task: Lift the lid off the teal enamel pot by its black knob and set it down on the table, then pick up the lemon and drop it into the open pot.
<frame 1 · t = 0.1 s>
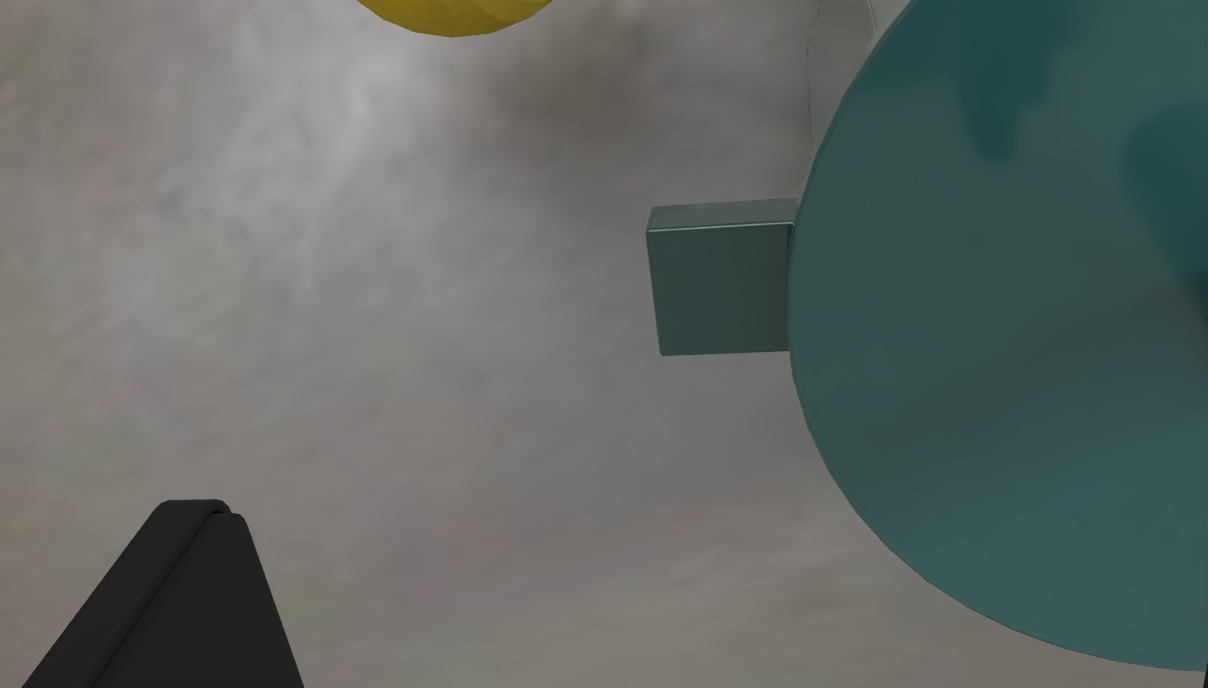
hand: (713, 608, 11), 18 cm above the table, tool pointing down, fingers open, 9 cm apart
pot: (1113, 70, 26), on the table
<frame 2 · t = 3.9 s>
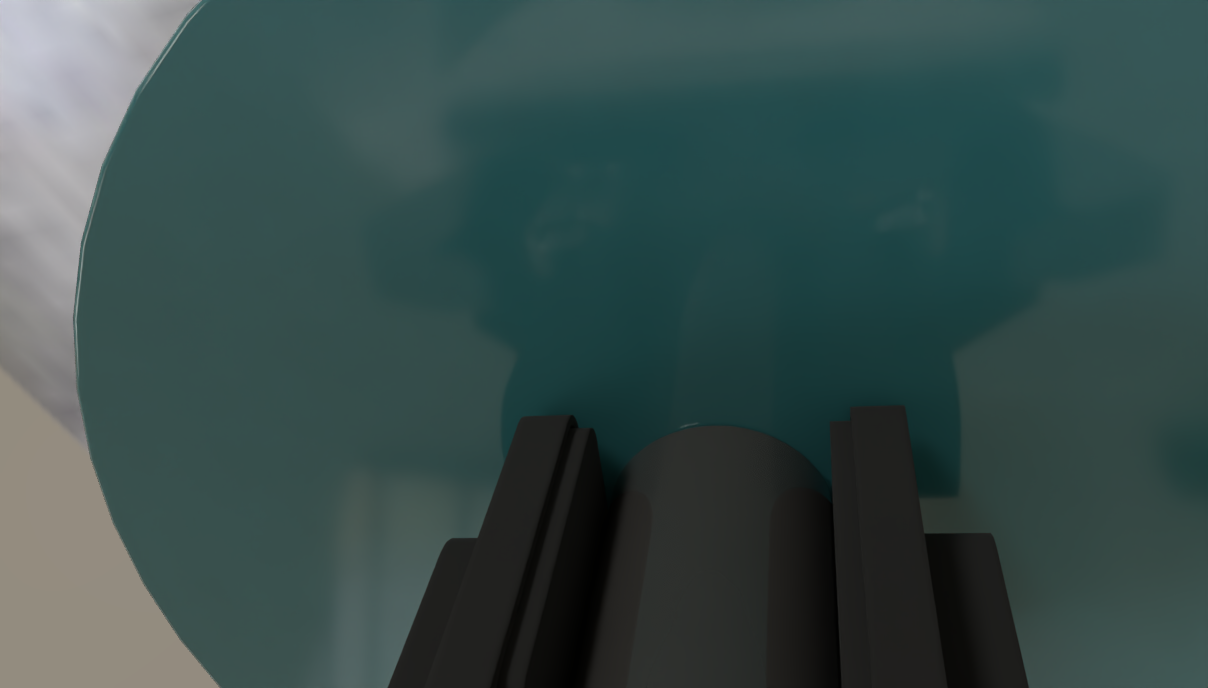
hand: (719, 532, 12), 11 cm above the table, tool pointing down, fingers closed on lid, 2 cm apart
lid: (724, 482, 13), point 11 cm above the table, touching gripper, pot
when the fingers open (3 cm above the table, at t = 11.8 s): lid drops 2 cm, point 1 cm above the table.
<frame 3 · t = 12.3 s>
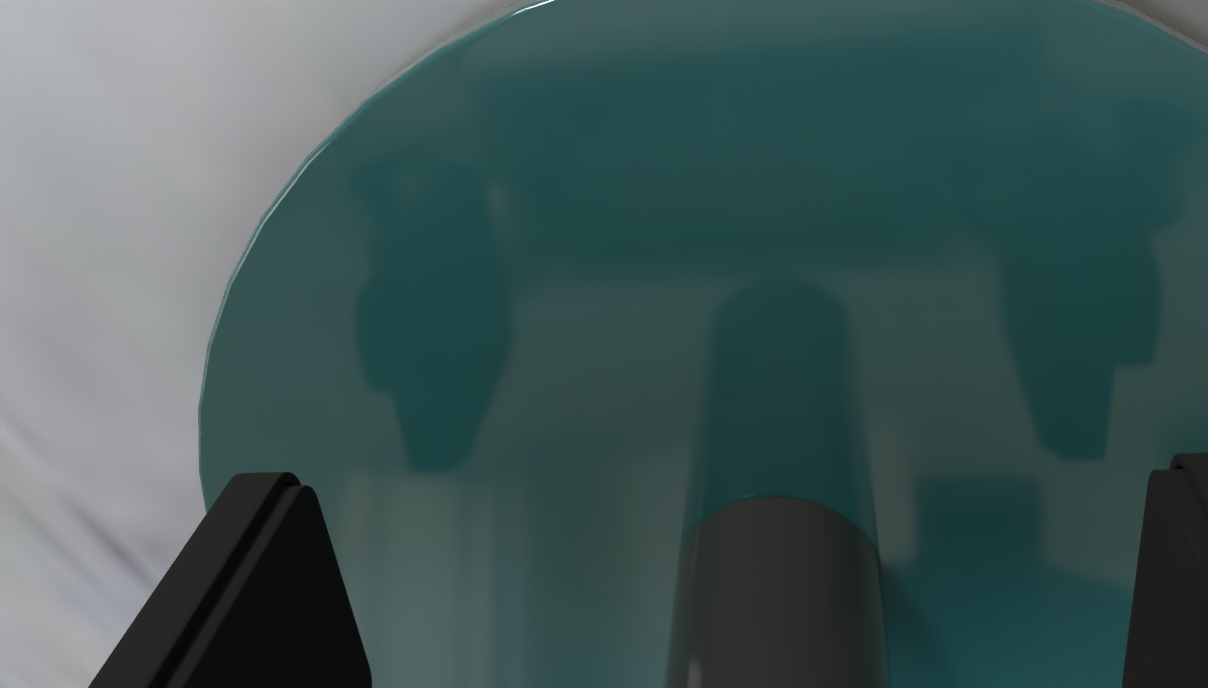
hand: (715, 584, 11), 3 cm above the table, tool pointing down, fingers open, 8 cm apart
lid: (778, 542, 14), point 1 cm above the table
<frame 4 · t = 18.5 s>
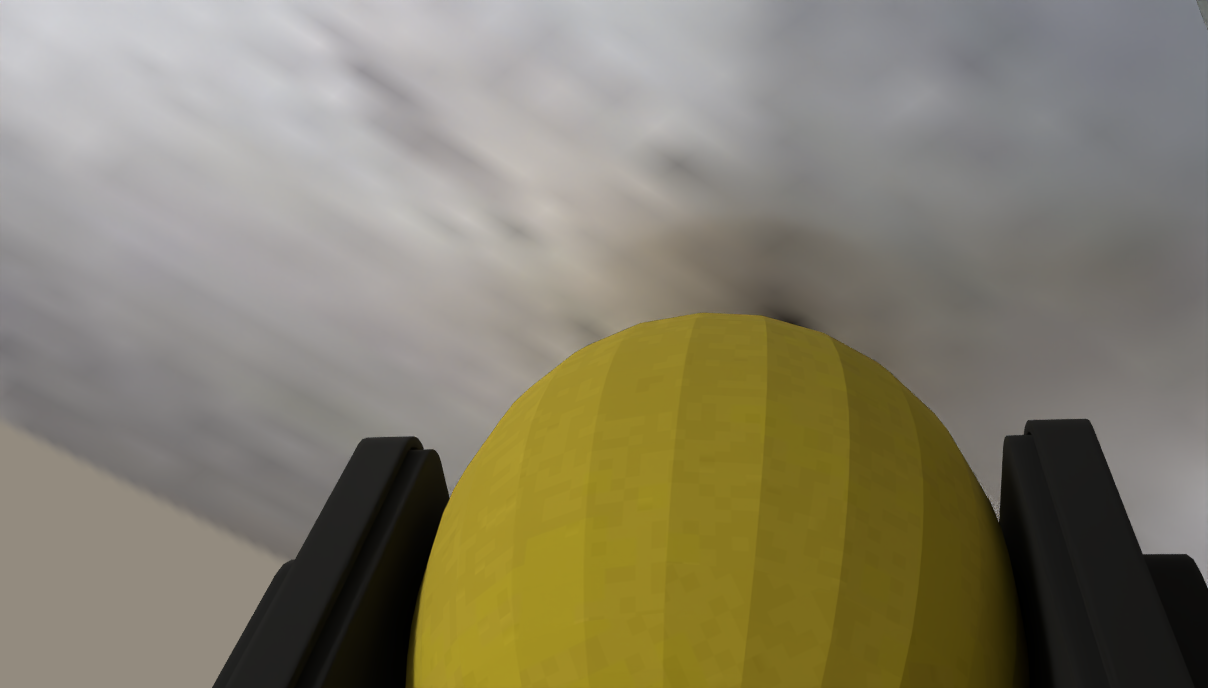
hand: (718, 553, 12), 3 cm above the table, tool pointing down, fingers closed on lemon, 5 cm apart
lemon: (732, 389, 14), on the table, touching gripper
when the fingers open (11 cm above the table, at t = 25.7 s): lemon drops 7 cm, resting on pot.
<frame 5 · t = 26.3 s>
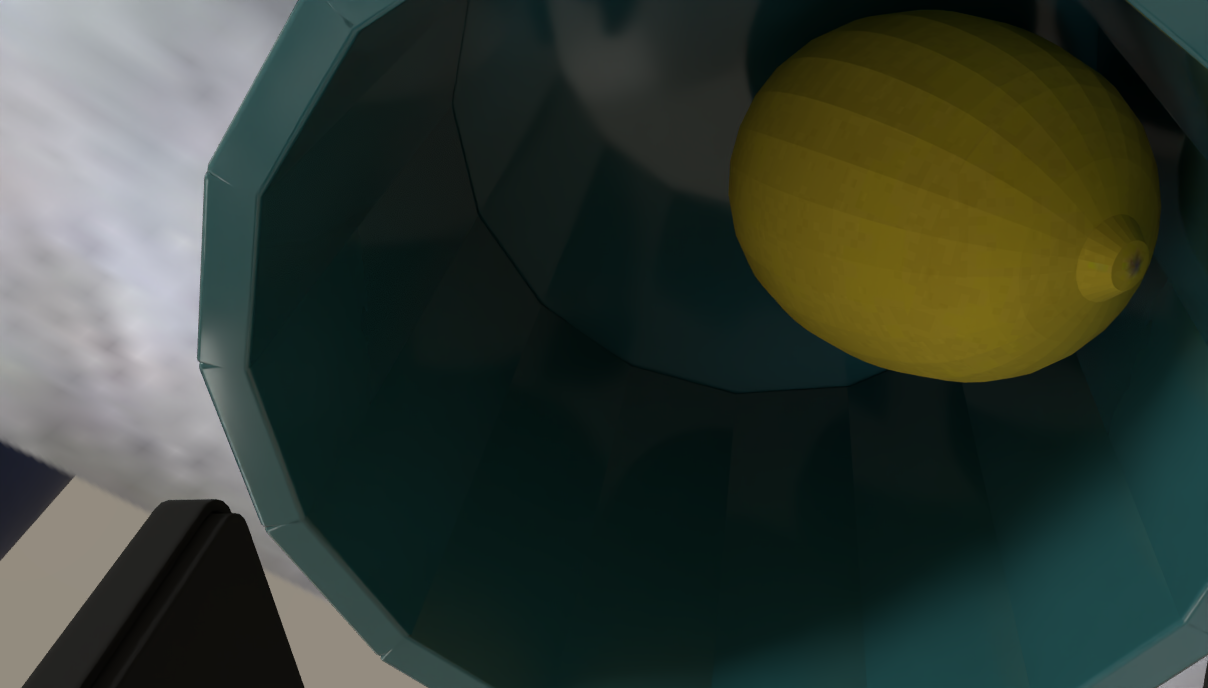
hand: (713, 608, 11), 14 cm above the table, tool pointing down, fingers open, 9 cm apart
pot: (763, 118, 23), on the table
lemon: (770, 141, 22), point 1 cm above the table, touching pot
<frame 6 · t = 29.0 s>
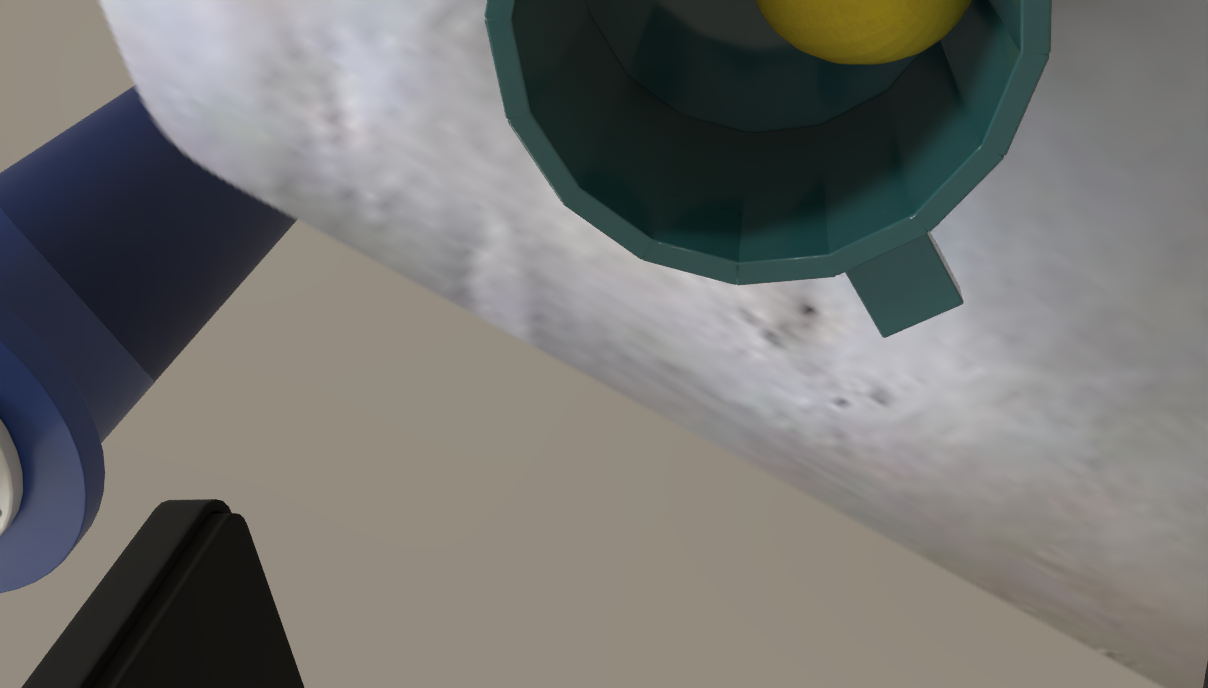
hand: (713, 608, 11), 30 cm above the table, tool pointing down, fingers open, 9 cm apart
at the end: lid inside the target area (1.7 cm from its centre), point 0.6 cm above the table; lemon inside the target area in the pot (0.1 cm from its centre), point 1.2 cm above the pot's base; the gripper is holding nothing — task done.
